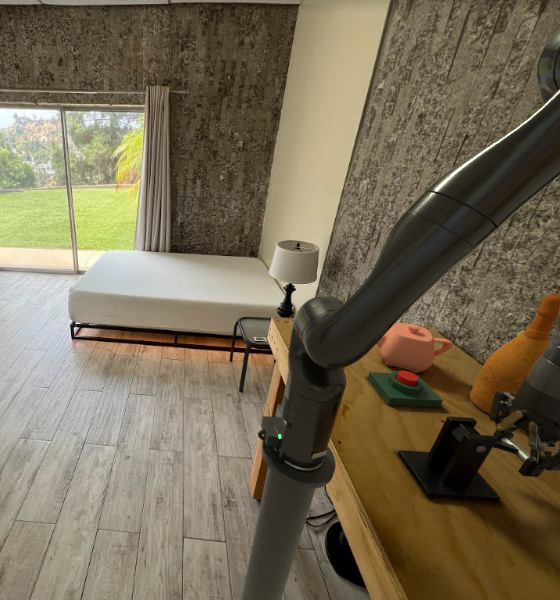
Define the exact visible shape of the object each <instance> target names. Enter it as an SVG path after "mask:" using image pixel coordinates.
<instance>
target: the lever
mask: <svg viewBox="0 0 560 600" xmlns="http://www.w3.org/2000/svg"><path fill="white" fill-rule="evenodd" d="M451 433H452V434H453V435H454V436H455V437H456V439H457V440H458V441H459V442H461V440H462V438H463V436H464V435H465V434H472V435H482V434H481V433H480V432H479V431H478V430H477V429H476V428H475V427H474V428H473V427H469V426H466V425H463V424H459V425H458V426H457V427H456V428H455V429H454V430H453V431H452V432H451ZM493 449H497V450H500V451H504V452H507V453H512V454H513V455H514V456H515V457H516V458H517V459H519V460H520V461H521V462H522V464H523V463H524V462H525V460H526V459H527V458H530V452H528V451H527V450H526V449H524V448H523V447H522V446H521V445H520V444H519V443H517V442H516V441H515V440H514V439H513V437H512V438H511V437H509V436H504V437H502V438H501V439H500V441H498V440H497V441H496V443H495V445H494V446H493Z"/></svg>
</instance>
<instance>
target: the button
mask: <svg viewBox="0 0 560 600" xmlns="http://www.w3.org/2000/svg"><path fill="white" fill-rule="evenodd" d="M398 371H399V372H398V375H397V377H396V379H397V380H398V381H399V382H401V383H403V384H406V385H409V386H415V385H416V382H417V380H418V377H417V376H416V375H415V374H416V373H414V372H412V371H407V370H398Z"/></svg>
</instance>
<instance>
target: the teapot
mask: <svg viewBox="0 0 560 600" xmlns="http://www.w3.org/2000/svg"><path fill="white" fill-rule="evenodd" d="M434 343H440V344H442V345H441V346H440V347H439V348H437V349H436V350H435V344H434ZM376 346H378V352H379V354H380V357H381V359H382V360H383V361H384V364H385V365H386V366H388V367H389V366H390V367H397V368H401V369H404V370H409V372H411V373H414V374H418V373H420V372H424V371H426V370H428V369H429V368H430V367H431V366H432V364H433V362H434V358H435V357H438V356H440V355H442V354H444V353H447V352H448V351H449V350H450V349H452V348H453V346H454V343H453V341H451V340H450V339H446V338H440V337H439V338H438V337H433V335H432V333H431V331H430V330H429V329H427V328H426V327H423V326H420V325H418V324H415V323H405V322H396V323H395V324H394V325H393V326H392V327H391V328H390V329H389V330H388V332H387V333H386V334H385V335H384V336H383V337H382V338H381V339H380V340H379V341H378V342H377V344H376Z"/></svg>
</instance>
